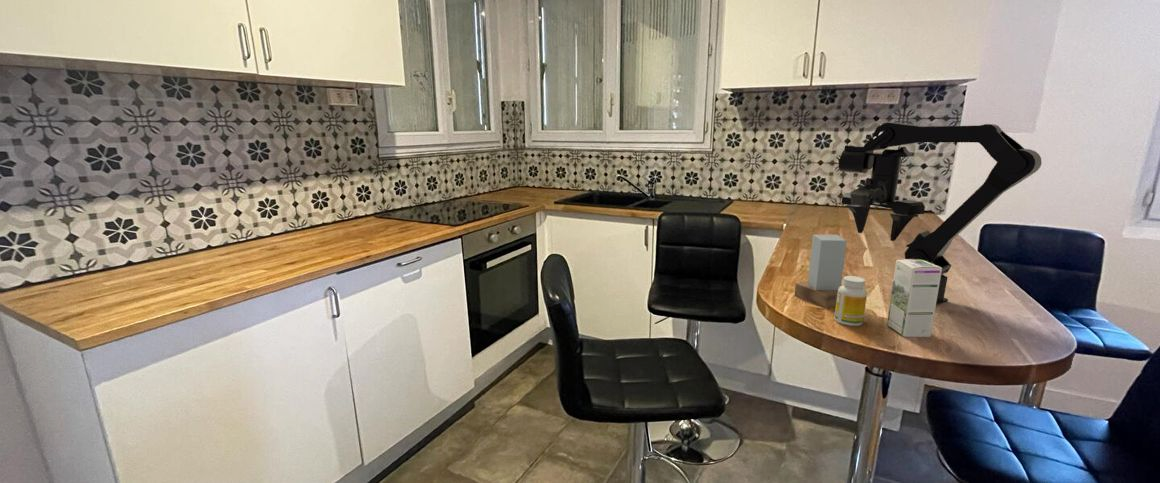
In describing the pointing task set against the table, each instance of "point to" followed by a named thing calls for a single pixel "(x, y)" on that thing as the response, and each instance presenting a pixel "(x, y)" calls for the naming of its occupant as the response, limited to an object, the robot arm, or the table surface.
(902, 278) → the syrup box
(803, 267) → the table surface
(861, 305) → the supplement bottle
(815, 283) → the slate pillar
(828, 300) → the walnut block
